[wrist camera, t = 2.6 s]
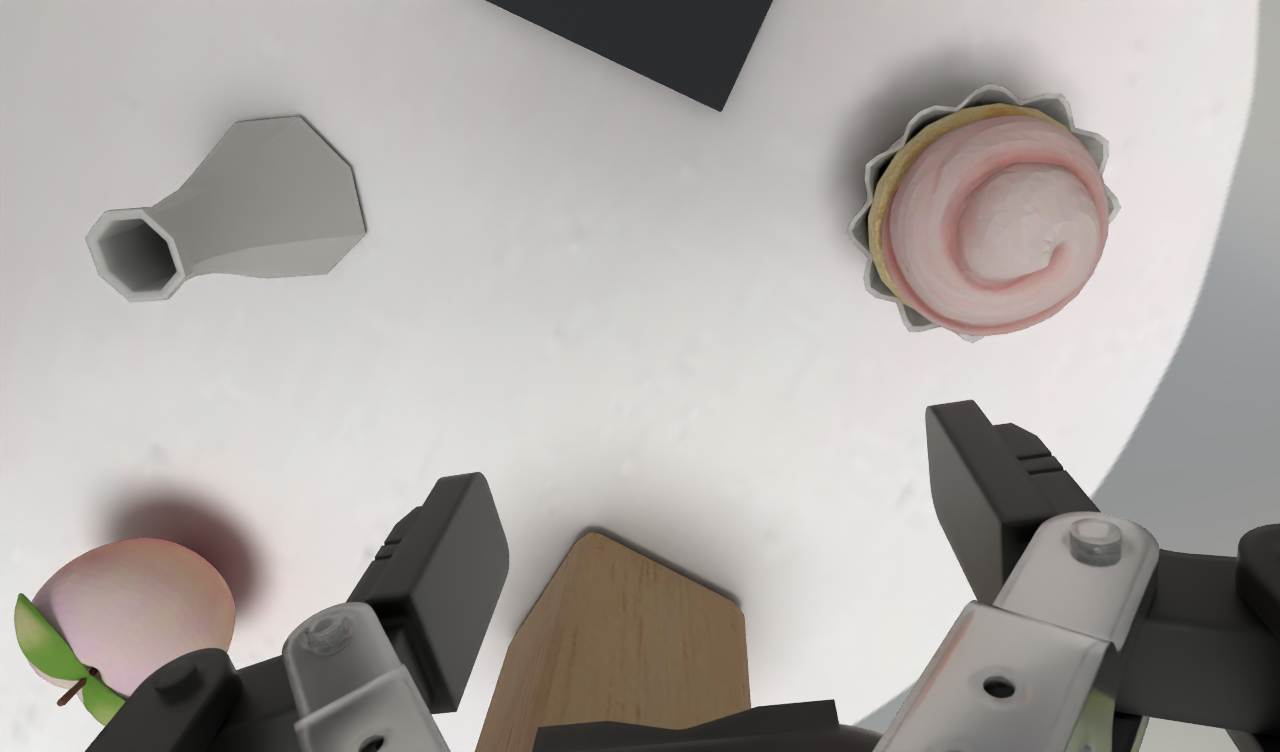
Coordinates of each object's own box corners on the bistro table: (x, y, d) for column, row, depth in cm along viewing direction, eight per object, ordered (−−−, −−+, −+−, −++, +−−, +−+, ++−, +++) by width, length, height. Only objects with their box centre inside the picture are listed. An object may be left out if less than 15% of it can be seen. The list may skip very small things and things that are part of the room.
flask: (395, 242, 35) (285, 314, 26) (266, 300, 36) (119, 387, 27) (308, 85, 32) (152, 103, 23) (173, 155, 34) (-22, 197, 25)
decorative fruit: (308, 574, 43) (201, 718, 34) (227, 647, 45) (108, 799, 36) (166, 463, 41) (11, 586, 31) (91, 547, 43) (-73, 683, 34)
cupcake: (898, 342, 35) (968, 449, 26) (788, 170, 32) (822, 221, 23) (1100, 224, 32) (1259, 296, 23) (999, 25, 30) (1132, 18, 20)
